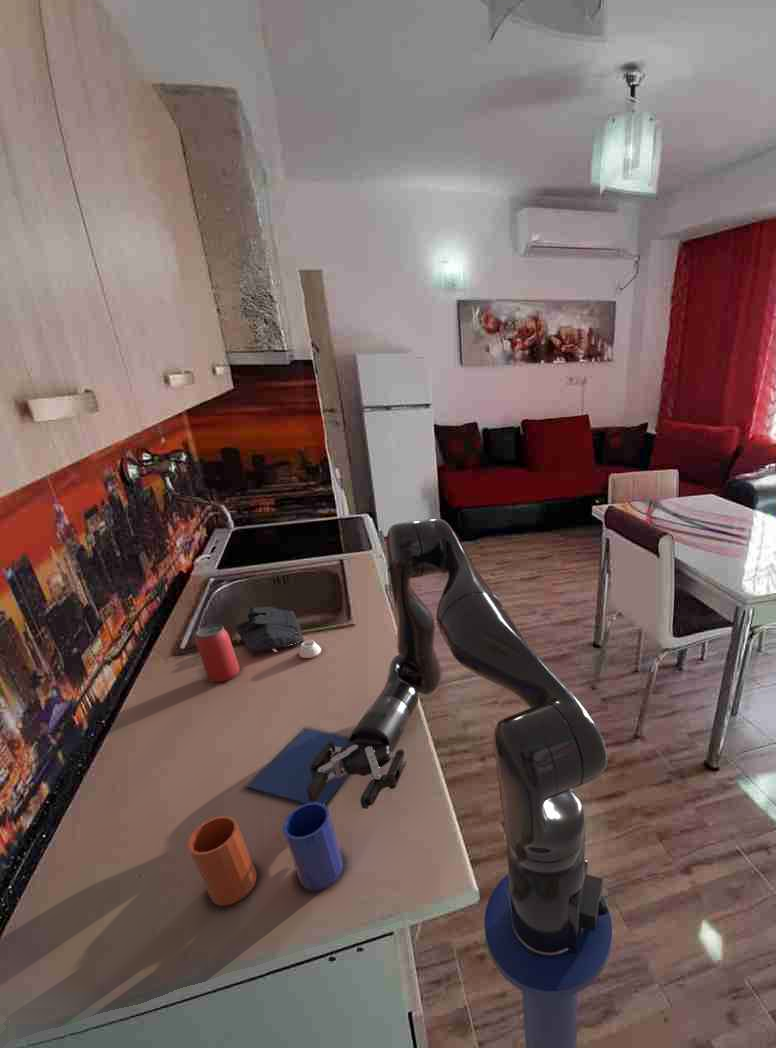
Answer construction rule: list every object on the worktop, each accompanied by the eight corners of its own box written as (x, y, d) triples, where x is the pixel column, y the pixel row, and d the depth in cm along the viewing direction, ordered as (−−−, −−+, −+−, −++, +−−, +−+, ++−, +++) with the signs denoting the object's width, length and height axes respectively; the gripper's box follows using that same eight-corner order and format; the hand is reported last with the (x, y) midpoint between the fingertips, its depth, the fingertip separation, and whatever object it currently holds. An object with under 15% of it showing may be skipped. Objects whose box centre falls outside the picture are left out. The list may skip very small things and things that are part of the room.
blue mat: (372, 744, 94) (371, 743, 94) (321, 808, 81) (320, 807, 81) (306, 729, 99) (305, 728, 99) (248, 787, 86) (247, 786, 86)
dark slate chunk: (241, 663, 122) (236, 646, 120) (235, 626, 140) (231, 610, 138) (307, 644, 129) (303, 628, 127) (293, 611, 146) (290, 596, 144)
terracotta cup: (265, 872, 72) (246, 821, 68) (233, 911, 67) (211, 860, 63) (234, 861, 74) (213, 811, 70) (200, 898, 69) (176, 847, 65)
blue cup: (351, 858, 73) (337, 808, 69) (326, 895, 68) (310, 844, 64) (317, 847, 75) (302, 798, 71) (291, 883, 70) (273, 832, 66)
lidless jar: (323, 654, 124) (317, 646, 128) (321, 644, 123) (315, 635, 126) (303, 661, 121) (297, 653, 125) (300, 651, 120) (294, 642, 124)
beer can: (245, 673, 118) (230, 628, 113) (216, 687, 114) (200, 641, 109) (232, 663, 122) (218, 620, 117) (204, 677, 118) (188, 632, 113)
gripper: (340, 706, 89) (287, 776, 75) (417, 714, 86) (377, 788, 72) (348, 740, 92) (299, 813, 78) (422, 748, 89) (385, 825, 75)
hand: (336, 801), depth 75 cm, fingers open, 8 cm apart
